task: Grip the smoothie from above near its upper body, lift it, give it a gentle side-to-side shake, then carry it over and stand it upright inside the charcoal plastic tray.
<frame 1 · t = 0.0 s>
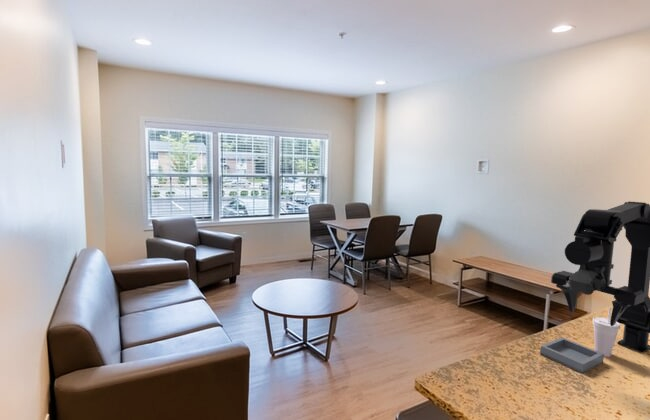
hand: (591, 318, 94), 15 cm above the countertop, tool pointing down, fingers open, 9 cm apart
smoothie: (602, 354, 105), on the countertop
tray: (570, 358, 102), on the countertop
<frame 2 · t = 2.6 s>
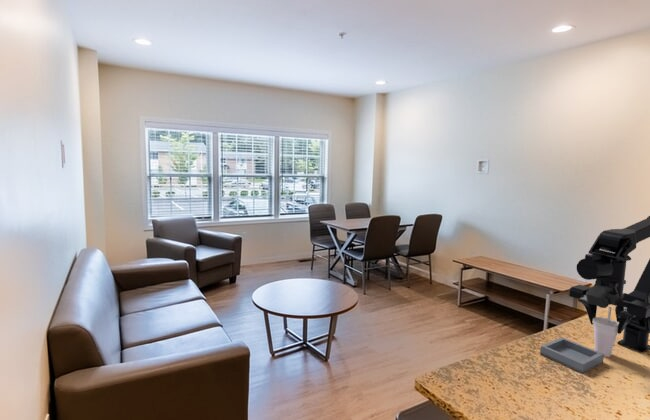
hand: (605, 328, 104), 8 cm above the countertop, tool pointing down, fingers closed on smoothie, 6 cm apart
smoothie: (602, 354, 105), on the countertop, touching gripper
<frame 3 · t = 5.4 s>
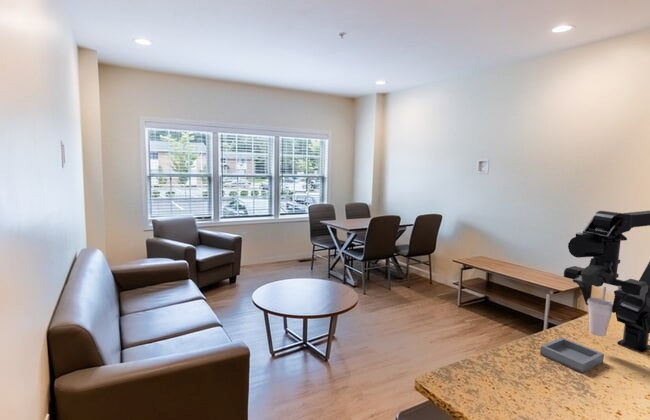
hand: (600, 308, 105), 13 cm above the countertop, tool pointing down, fingers closed on smoothie, 6 cm apart
smoothie: (597, 333, 106), point 5 cm above the countertop, touching gripper
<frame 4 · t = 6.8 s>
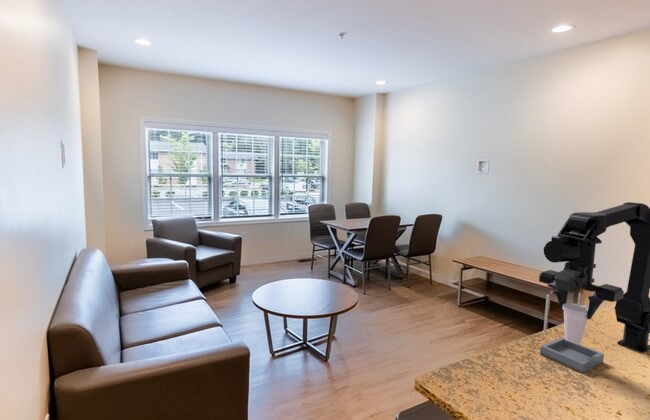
hand: (575, 314, 101), 13 cm above the countertop, tool pointing down, fingers closed on smoothie, 6 cm apart
smoothie: (572, 341, 102), point 5 cm above the countertop, touching gripper
when the fingers open (9 cm above the countertop, at t = 8.0 s): smoothie drops 1 cm, resting on tray.
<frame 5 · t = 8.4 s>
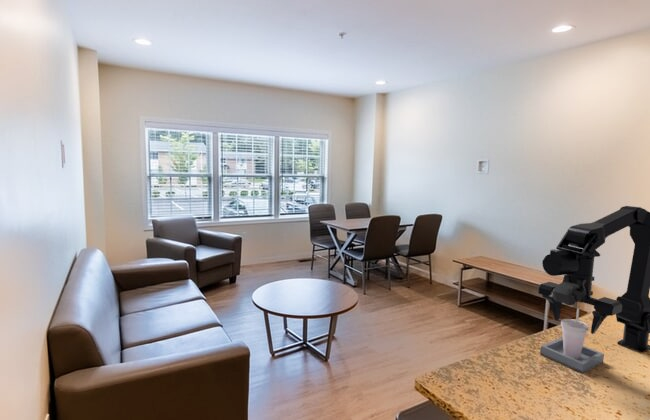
hand: (574, 326, 101), 9 cm above the countertop, tool pointing down, fingers open, 9 cm apart
smoothie: (571, 356, 102), resting on tray
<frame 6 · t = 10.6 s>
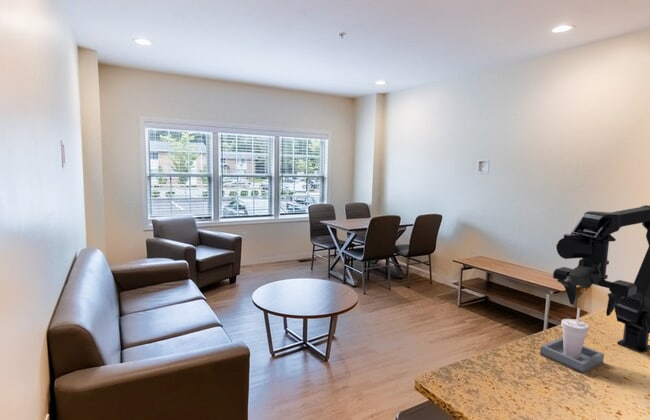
hand: (589, 309, 104), 13 cm above the countertop, tool pointing down, fingers open, 9 cm apart
nothing on the countertop moved.
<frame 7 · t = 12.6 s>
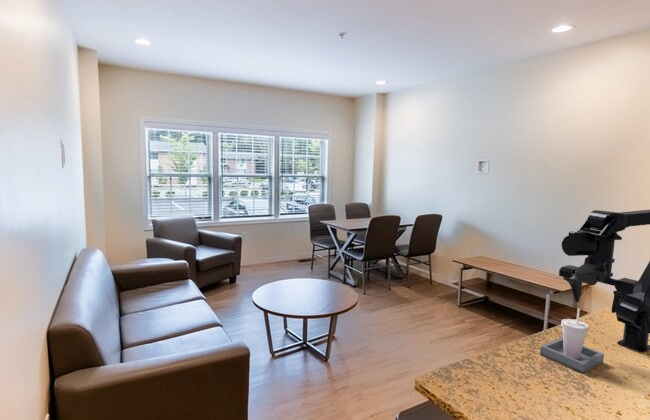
hand: (594, 307, 106), 13 cm above the countertop, tool pointing down, fingers open, 9 cm apart
nothing on the countertop moved.
at the end: smoothie 0.1 cm off-centre on the tray, point 0.4 cm above the tray's base; smoothie tilted 0°; the gripper is holding nothing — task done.
